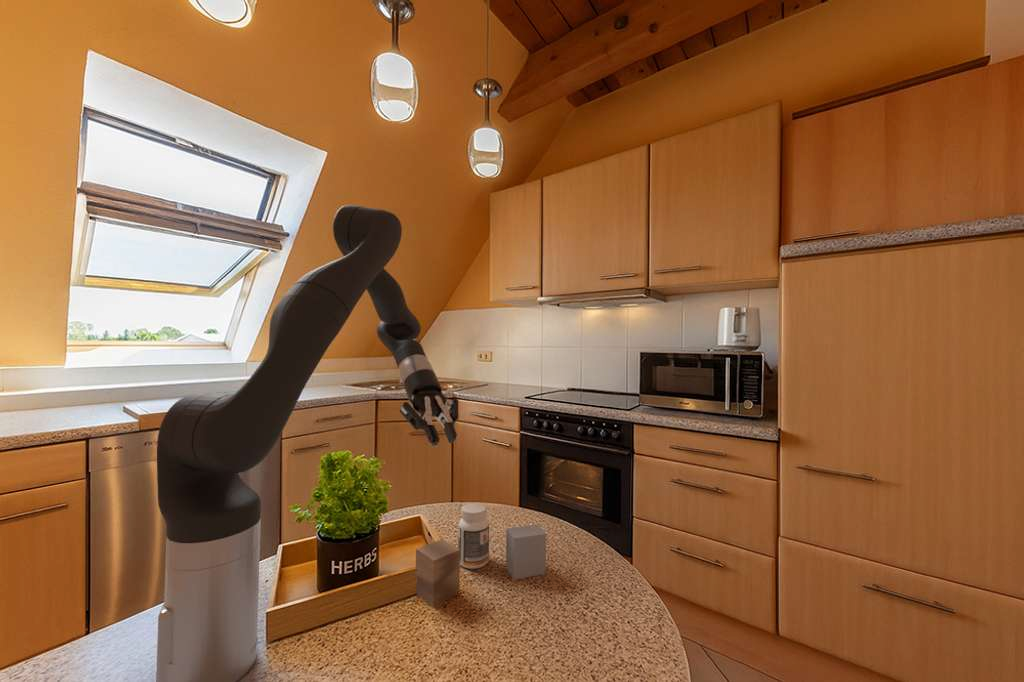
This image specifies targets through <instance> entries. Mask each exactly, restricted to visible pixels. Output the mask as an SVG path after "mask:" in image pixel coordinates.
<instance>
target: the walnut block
mask: <svg viewBox="0 0 1024 682" xmlns="http://www.w3.org/2000/svg"><path fill="white" fill-rule="evenodd" d="M460 567H461V565H460V549H458V547H456V546H454V544H451V543H450V542H448V541H446V540H444V539H443V538H441V539H439V540H436V541H433V542H430V543H428V544H425V545H422V546H420V547H417V548H416V549H415V569H416V568H417V582H416V583H417V585H416V593H415V594H416V595H417V596H419V597H420V599H422V600H423V601H424V602H426V604H428V605H429V606H430V607H431V608H434V607H437V606H438V605H439V604H442V603H444V602H446V601H448V600H450V599H452V598H453V597H456V596H457V595H459V594H460V573H461V571H460V570H461V569H460Z"/></svg>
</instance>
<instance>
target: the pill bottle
mask: <svg viewBox="0 0 1024 682" xmlns="http://www.w3.org/2000/svg"><path fill="white" fill-rule="evenodd" d="M487 512H488V510H487V506H486V505H485V504H484V503H480V502H479V503H478V502H477V503H476V502H474V503H473V502H472V503H467V504H464V505H463V506H462V507H461V510H460V516H461V518H460V520H459V522H458V524H457V525H458V526H457V527H458V533H457V534H458V538H457V539H458V540H457V541H458V543H457V546H458V547H457V548H458V549H460V567H463V568H465V569H471V570H474V569H480V568H483V567H484V566H486V565H487V564H488V563H489V560H490V522H489V519H488V518H487V517H486V515H487V514H488V513H487Z"/></svg>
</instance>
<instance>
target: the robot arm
mask: <svg viewBox="0 0 1024 682" xmlns="http://www.w3.org/2000/svg"><path fill="white" fill-rule="evenodd" d="M334 215H335V216H334V217H333V221H332V233H333V239H334V242H335V244H336V246H337V248H338V249H339V251H340V253H341V254H342V256H343V257H340V258H338V259H336V260H335V259H334V260H333V261H330V262H328V263H326V264H323V265H321V266H320V267H316V268H315V269H313V270H311V271H308V273H305V274H304V275H302V276H301V277H299V279H297V281H296V282H294V283H293V285H292V286H291V287H290V288H289V289H288V291H287V292H286V293H285V295H284V296H283V297H282V298H281V299H280V300H279V301H278V303H277V305H276V306H275V307H274V310H273V311H272V315H271V317H270V323H269V335H268V348H267V351H266V354H265V356H264V358H263V360H262V361H261V362H260V364H259V366H258V367H256V369H255V371H254V372H253V374H252V375H251V376H250V377H249V378H248V380H247V381H246V382H245V383H244V384H243V385H242V386H241V387H240V388H238V390H237V391H236V392H235V393H228V392H227V393H226V392H212V391H211V392H209V391H208V392H205V391H204V392H197V393H191V394H189V395H186V396H184V397H183V398H181V399H178V400H177V401H176V402H175V403H174V404H172V405H171V407H170V408H169V409H168V410H167V412H166V413H165V415H164V417H163V419H162V421H161V422H160V423H161V424H160V426H159V431H158V435H157V442H156V480H157V481H156V482H157V503H158V507H159V511H160V513H161V515H162V518H163V519H164V522H165V524H166V533H165V534H166V537H165V538H166V540H165V541H166V542H165V544H166V545H165V570H164V601H163V605H162V607H161V609H160V611H159V614H158V618H157V620H158V621H157V642H156V645H157V646H156V648H157V649H156V671H155V672H156V674H155V675H156V676H155V677H156V678H155V682H238V681H239V680H240V679H242V677H243V676H244V675H246V674H247V673H248V672H249V670H250V669H251V668H252V667H253V666H254V663H255V661H256V658H257V654H258V653H257V652H258V648H257V647H258V639H259V638H258V623H259V594H260V593H259V591H260V587H259V585H260V557H261V556H260V554H261V552H260V551H261V525H262V524H261V521H262V519H261V517H262V500H261V497H260V495H259V494H258V493H257V492H256V491H255V490H254V489H253V488H251V487H250V486H249V485H247V483H246V482H245V481H244V480H243V479H242V477H241V476H240V474H241V473H244V472H248V471H249V470H251V469H253V468H254V467H256V466H257V465H259V464H260V463H261V462H262V461H263V460H264V459H266V457H267V456H268V455H269V453H271V451H272V449H273V448H274V447H275V445H276V444H277V441H278V440H279V438H280V436H281V434H282V433H283V431H284V429H285V427H286V425H287V423H288V422H289V419H290V417H291V415H292V413H293V410H294V409H295V406H296V405H297V402H298V401H299V398H300V397H301V395H302V393H303V391H304V389H305V387H306V385H307V383H308V381H309V380H310V378H311V376H313V373H314V371H315V369H317V367H318V366H319V364H320V361H321V360H322V358H323V357H324V355H325V354H326V351H328V349H329V347H330V346H331V344H332V343H333V341H335V339H336V337H337V336H338V334H339V333H340V331H341V330H342V329H343V326H344V325H345V324H346V322H347V320H348V319H349V317H350V316H351V314H352V312H353V311H354V309H355V307H356V305H357V304H358V303H359V301H360V299H361V298H362V297H363V295H364V293H365V292H366V291H367V293H368V295H369V297H370V299H371V302H372V305H373V306H374V309H375V311H376V314H377V316H378V318H379V320H380V322H379V323H378V325H377V327H376V334H377V338H378V339H379V340H380V342H381V343H382V344H383V346H384V347H386V349H387V350H388V351H389V352H390V353H391V355H392V356H393V359H394V361H395V363H396V366H397V369H398V372H399V377H400V380H401V383H402V385H403V388H404V390H405V393H406V395H407V398H408V399H407V400H409V402H408V401H404V402H403V404H402V405H401V408H400V410H399V413H400V414H401V415H402V416H403V417H404V418H405V419H406V421H407V422H408V423H409V424H410V425H411V426H412V427H413V429H414V430H416V431H419V430H422V431H424V433H425V435H426V437H427V440H428V442H429V443H430V444H431V445H432V446H435V447H436V446H437V445H438V444H439V443H440V437H439V434H438V431H437V429H436V426H435V425H434V424H433V419H432V417H434V418H435V420H436V421H437V422H438V423H440V424H441V426H442V427H443V432H444V434H445V436H446V439H447V441H448V443H449V444H453V443H454V442H455V441H456V439H457V436H458V435H457V434H458V433H457V432H456V429H455V424H456V423H457V421H458V419H459V415H460V414H459V400H458V398H453V399H448V398H447V397H446V395H445V394H443V392H442V387H441V384H440V382H439V380H438V377H437V374H436V373H435V371H434V368H433V367H432V364H431V362H430V361H429V359H428V358H427V355H426V353H425V351H424V348H423V346H422V344H421V343H420V342H419V341H417V340H416V339H418V337H419V336H420V334H421V331H422V326H421V324H420V321H419V320H418V318H417V316H415V314H414V313H413V312H412V311H411V310H410V308H409V307H408V305H407V301H406V299H405V295H404V292H403V290H402V288H401V286H400V283H399V282H398V281H397V280H396V279H395V278H394V277H393V275H391V273H390V272H388V271H387V270H386V269H385V267H386V266H387V264H388V263H390V261H391V260H392V259H393V258H394V255H395V254H396V253H397V250H398V248H399V247H400V243H401V239H402V235H403V234H402V231H403V229H402V224H401V221H400V219H399V217H398V216H397V215H396V214H395V213H392V211H391V212H390V211H388V210H384V209H382V208H374V207H368V206H362V205H354V204H353V205H351V204H346V205H343V206H341V207H340V208H339V209H337V211H336V213H335V214H334Z"/></svg>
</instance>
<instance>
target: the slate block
mask: <svg viewBox="0 0 1024 682" xmlns="http://www.w3.org/2000/svg"><path fill="white" fill-rule="evenodd" d="M505 536H506V540H505V541H506V542H505V543H506V544H505V568H506V570H507V572H508V573H509V575H510V577H511V578H512V580H513V581H514V580H520V579H524V578H529V577H535V576H536V577H537V576H542V575H546V572H547V571H546V570H547V568H546V567H547V563H546V561H547V559H546V557H547V552H546V551H547V533H546V532H545V531H544V530H543V529H542V527H540V526H539V525H538V524H529V525H523V526H514V527H507V528H506V535H505Z"/></svg>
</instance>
